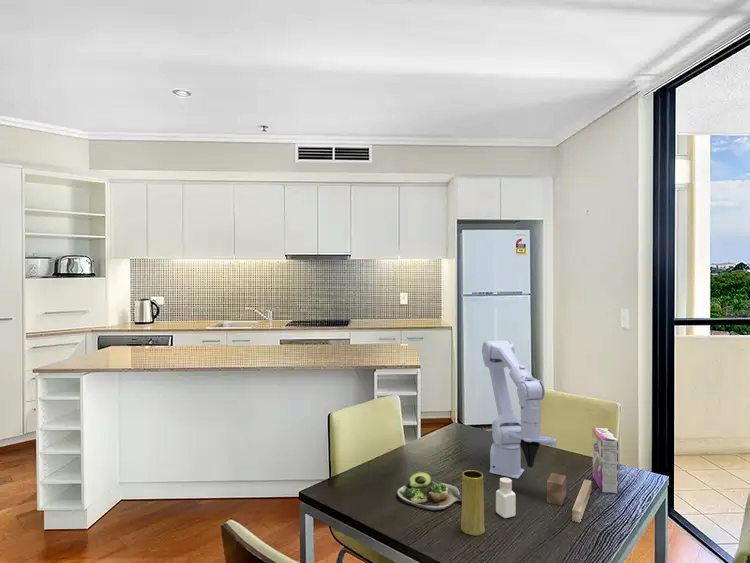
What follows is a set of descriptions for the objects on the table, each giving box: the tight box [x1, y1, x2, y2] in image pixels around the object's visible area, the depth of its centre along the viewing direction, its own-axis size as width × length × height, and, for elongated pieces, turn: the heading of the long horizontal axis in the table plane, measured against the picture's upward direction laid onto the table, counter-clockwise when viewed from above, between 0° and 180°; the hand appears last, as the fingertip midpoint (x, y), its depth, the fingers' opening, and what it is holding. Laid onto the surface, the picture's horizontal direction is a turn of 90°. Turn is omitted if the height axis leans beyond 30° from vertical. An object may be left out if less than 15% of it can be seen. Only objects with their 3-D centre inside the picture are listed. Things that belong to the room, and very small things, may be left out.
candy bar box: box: [591, 427, 619, 495], centre depth 145 cm, size 11×5×16 cm, turn 168°
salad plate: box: [396, 471, 462, 511], centre depth 138 cm, size 19×18×5 cm
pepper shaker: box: [495, 477, 517, 519], centre depth 127 cm, size 4×4×10 cm
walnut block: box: [546, 472, 567, 506], centre depth 136 cm, size 4×7×6 cm, turn 148°
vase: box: [460, 469, 486, 536], centre depth 120 cm, size 6×6×14 cm
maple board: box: [571, 478, 592, 524], centre depth 133 cm, size 2×22×3 cm, turn 148°
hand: (530, 466), depth 140 cm, fingers closed
